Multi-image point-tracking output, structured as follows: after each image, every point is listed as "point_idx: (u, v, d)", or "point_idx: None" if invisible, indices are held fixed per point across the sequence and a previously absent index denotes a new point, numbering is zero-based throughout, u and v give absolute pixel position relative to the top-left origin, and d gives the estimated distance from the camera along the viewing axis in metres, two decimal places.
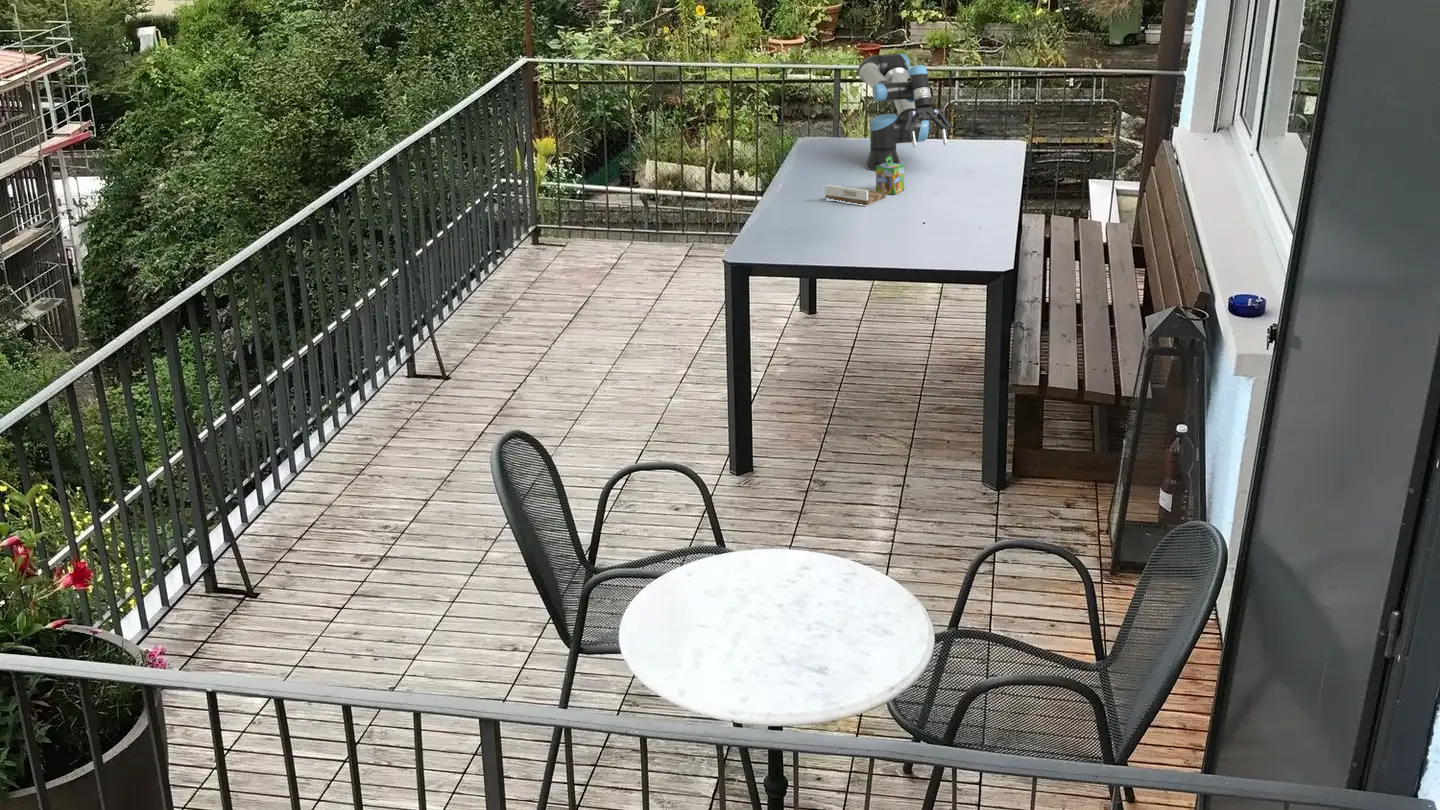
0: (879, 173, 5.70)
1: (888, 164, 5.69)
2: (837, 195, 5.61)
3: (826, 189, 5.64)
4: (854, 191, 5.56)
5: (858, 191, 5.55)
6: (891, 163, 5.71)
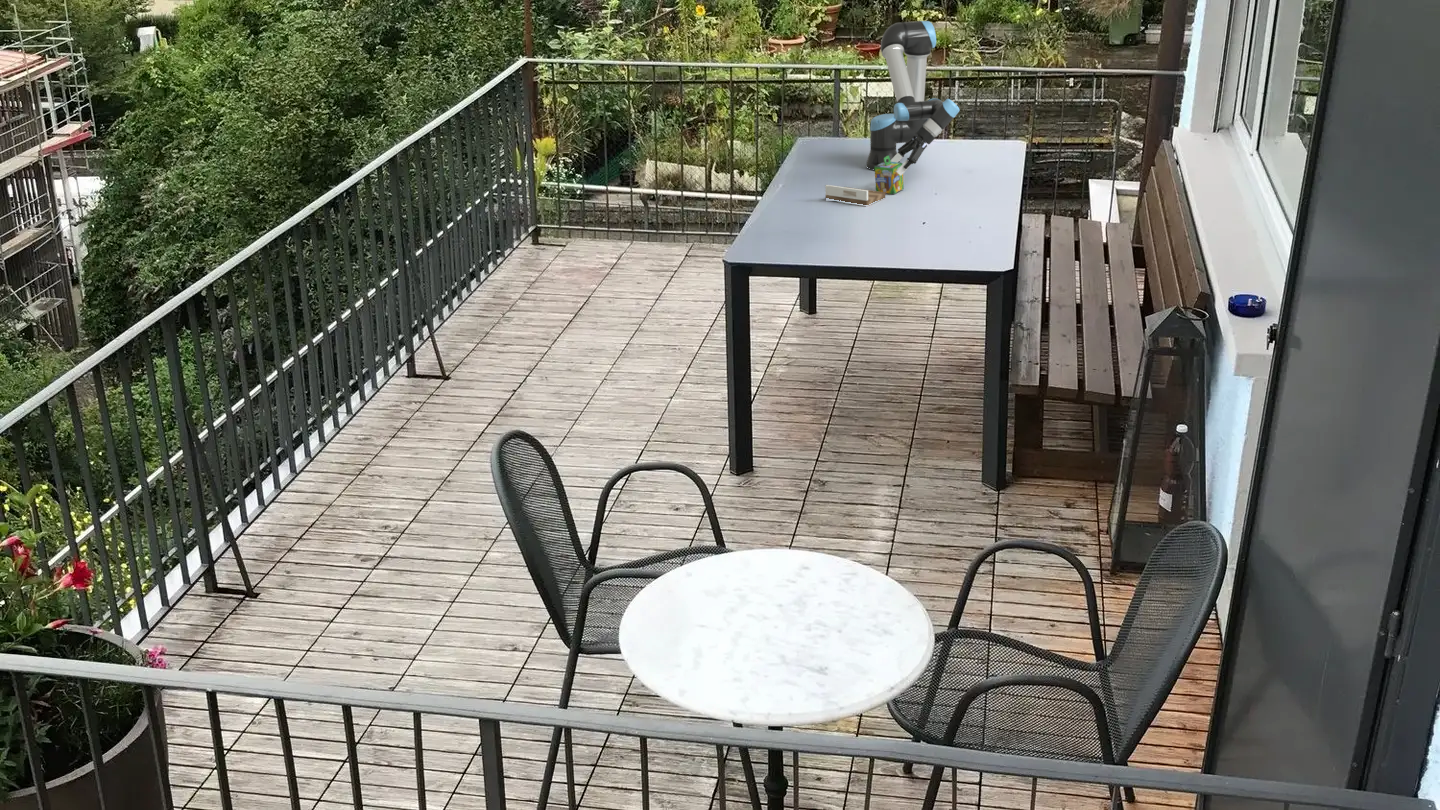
0: (878, 173, 5.70)
1: (886, 164, 5.69)
2: (837, 195, 5.61)
3: (826, 189, 5.64)
4: (854, 191, 5.56)
5: (858, 191, 5.55)
6: (889, 162, 5.71)
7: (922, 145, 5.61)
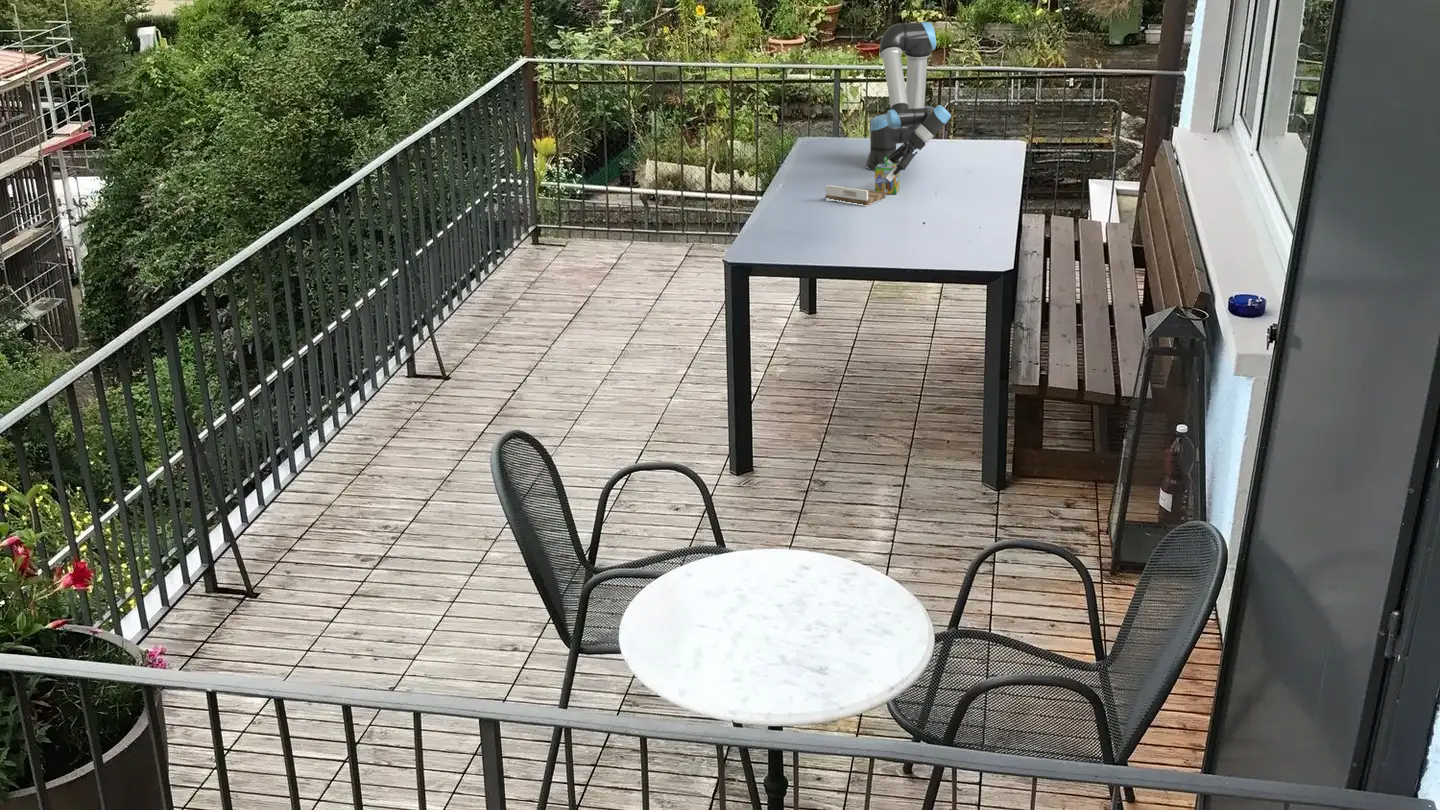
0: (879, 173, 5.68)
1: (886, 164, 5.69)
2: (837, 195, 5.61)
3: (826, 189, 5.64)
4: (854, 191, 5.56)
5: (858, 191, 5.55)
6: (887, 163, 5.71)
7: (912, 151, 5.62)
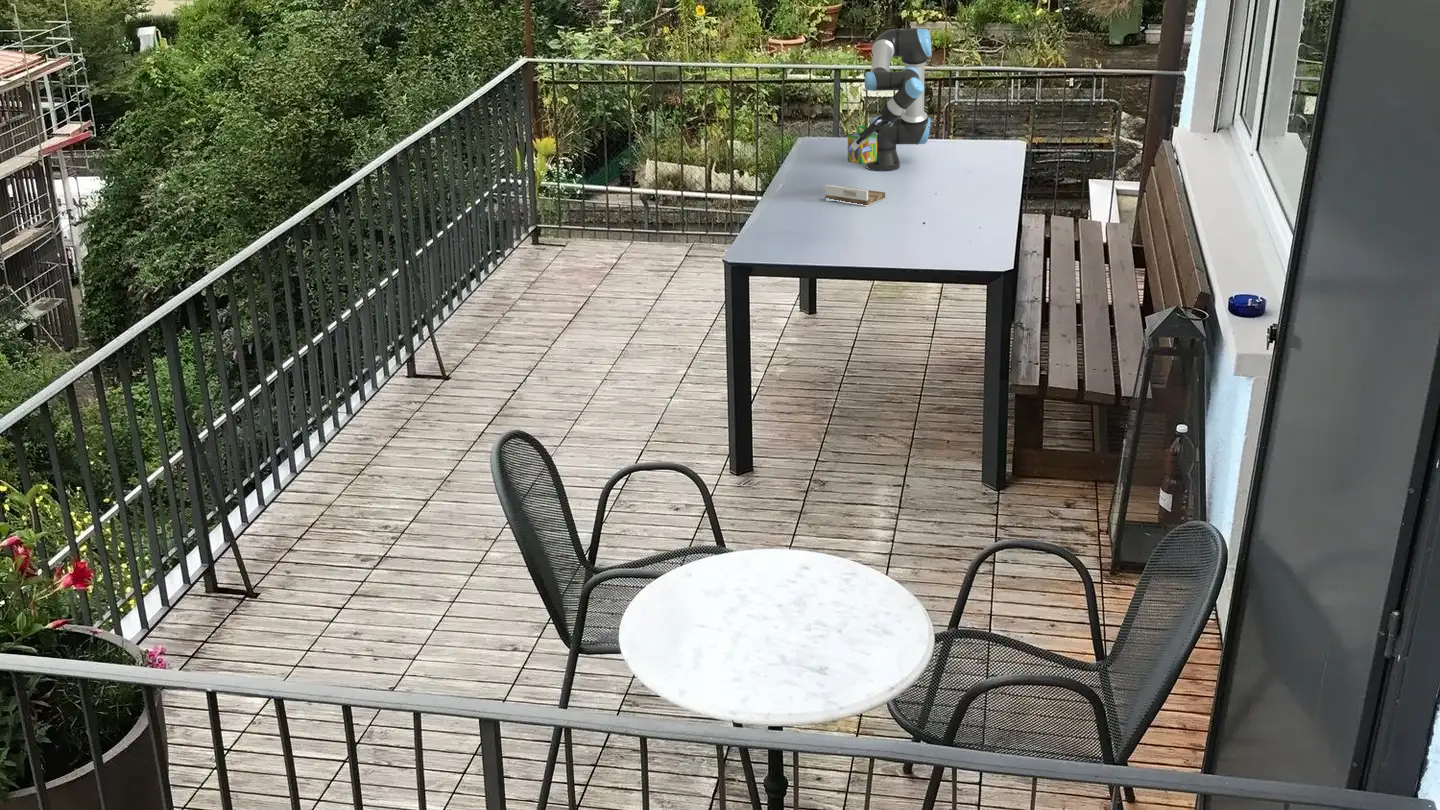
0: (850, 141, 5.59)
1: (859, 133, 5.57)
2: (837, 195, 5.61)
3: (826, 189, 5.64)
4: (854, 191, 5.56)
5: (858, 191, 5.55)
6: None
7: (875, 122, 5.46)
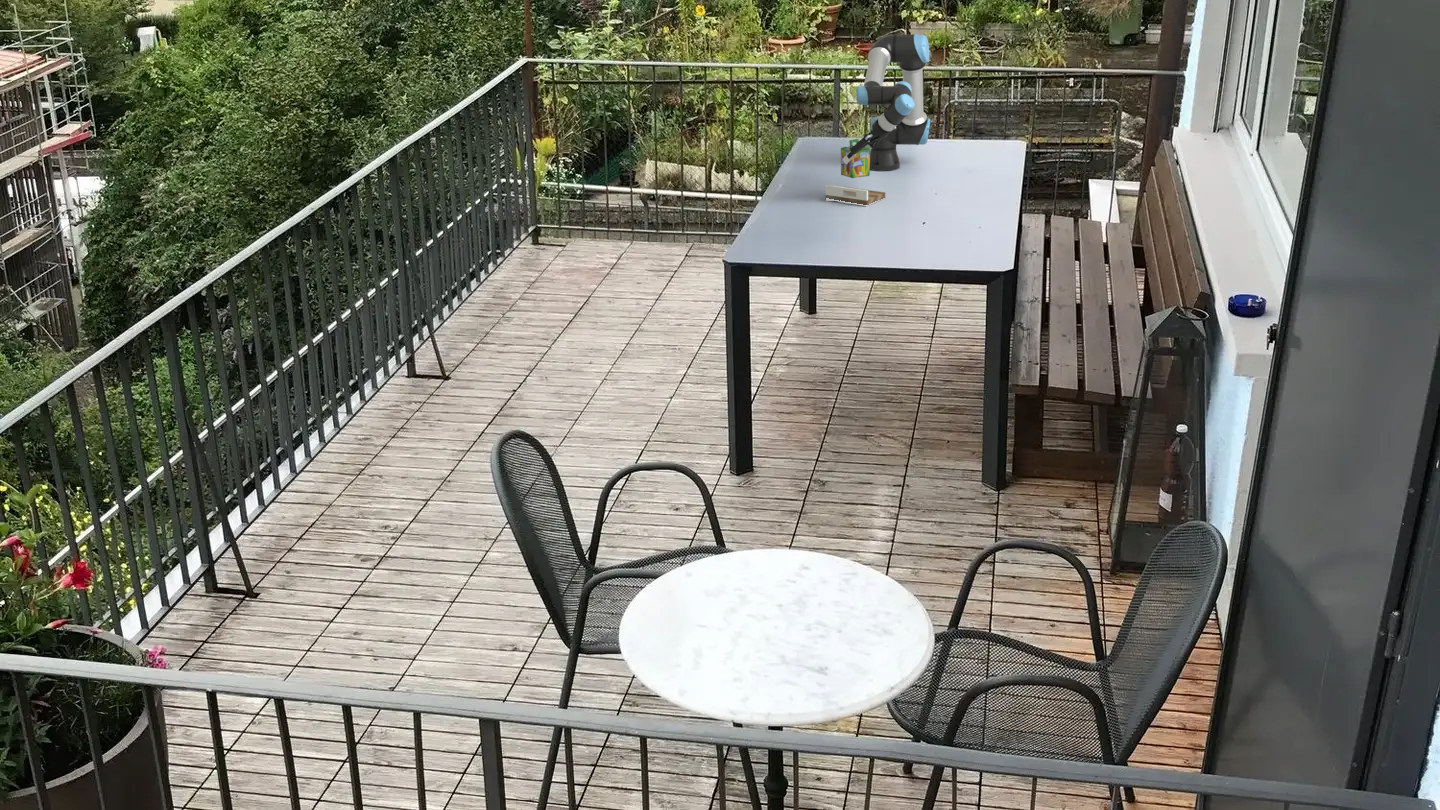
0: (843, 154, 5.60)
1: None
2: (837, 195, 5.61)
3: (826, 189, 5.64)
4: (854, 191, 5.56)
5: (858, 191, 5.55)
6: None
7: (865, 137, 5.47)
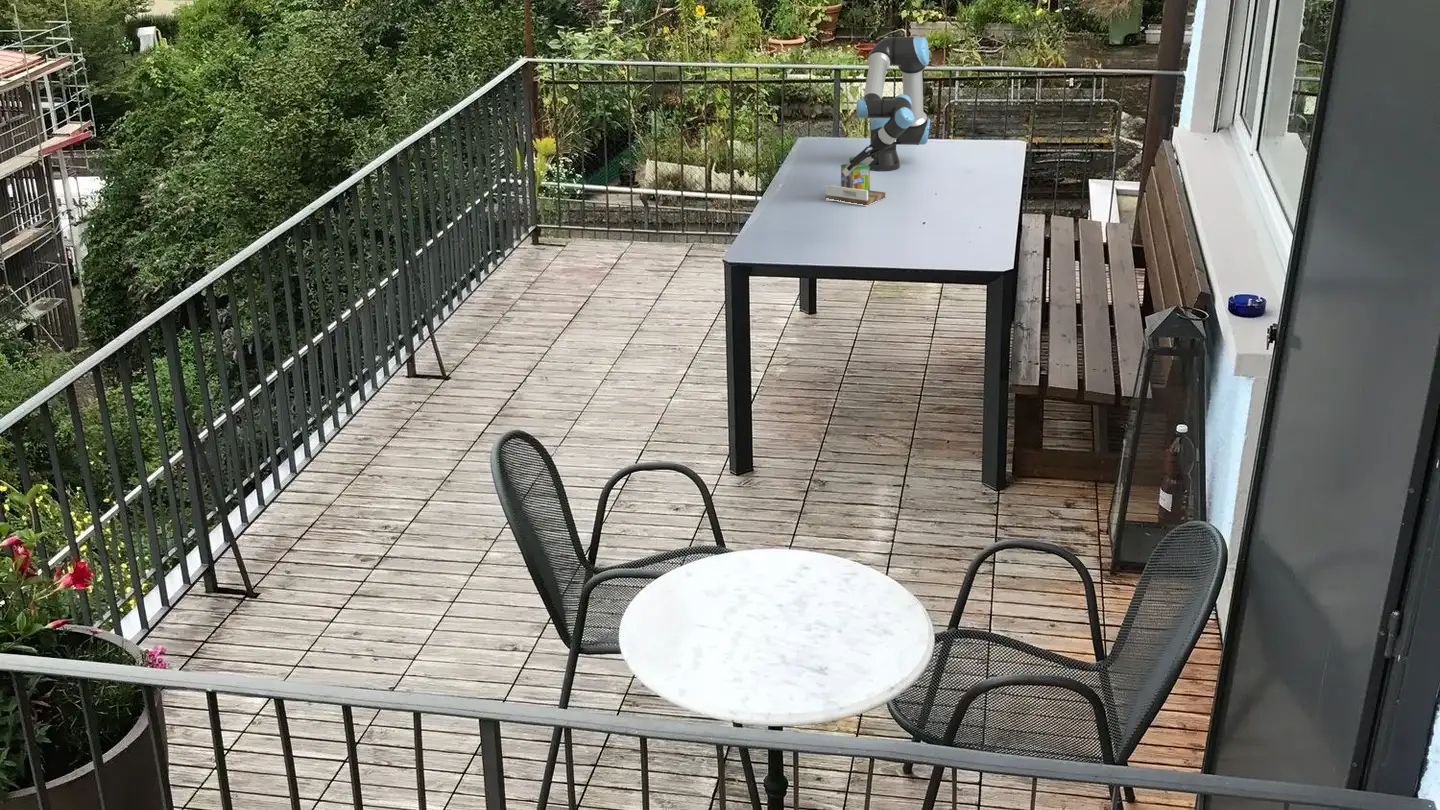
0: None
1: None
2: (837, 195, 5.61)
3: (826, 189, 5.64)
4: (854, 191, 5.56)
5: (858, 191, 5.55)
6: None
7: (865, 149, 5.49)
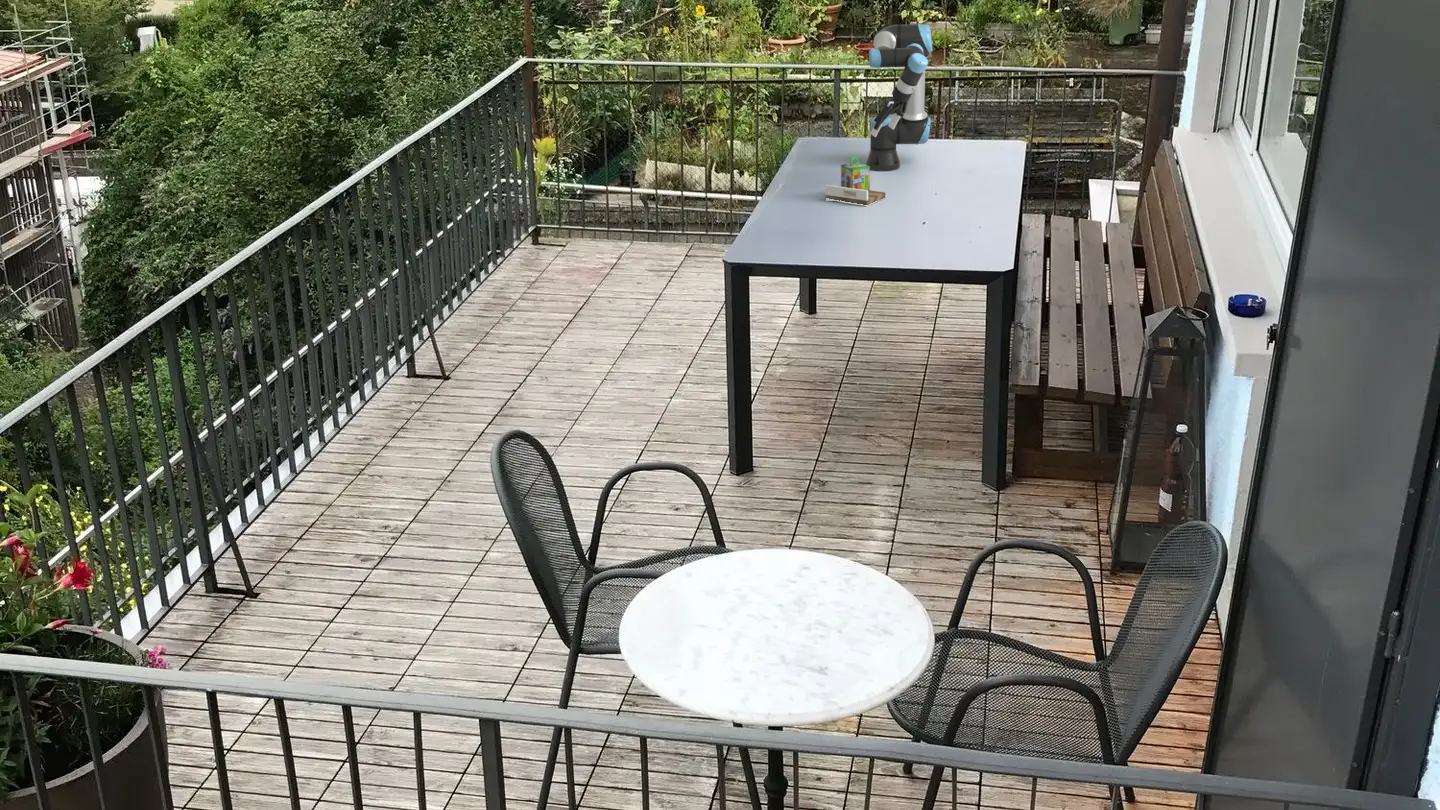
0: (843, 172, 5.63)
1: (852, 164, 5.61)
2: (837, 195, 5.61)
3: (826, 189, 5.64)
4: (854, 191, 5.56)
5: (858, 191, 5.55)
6: (857, 163, 5.63)
7: (887, 104, 5.47)
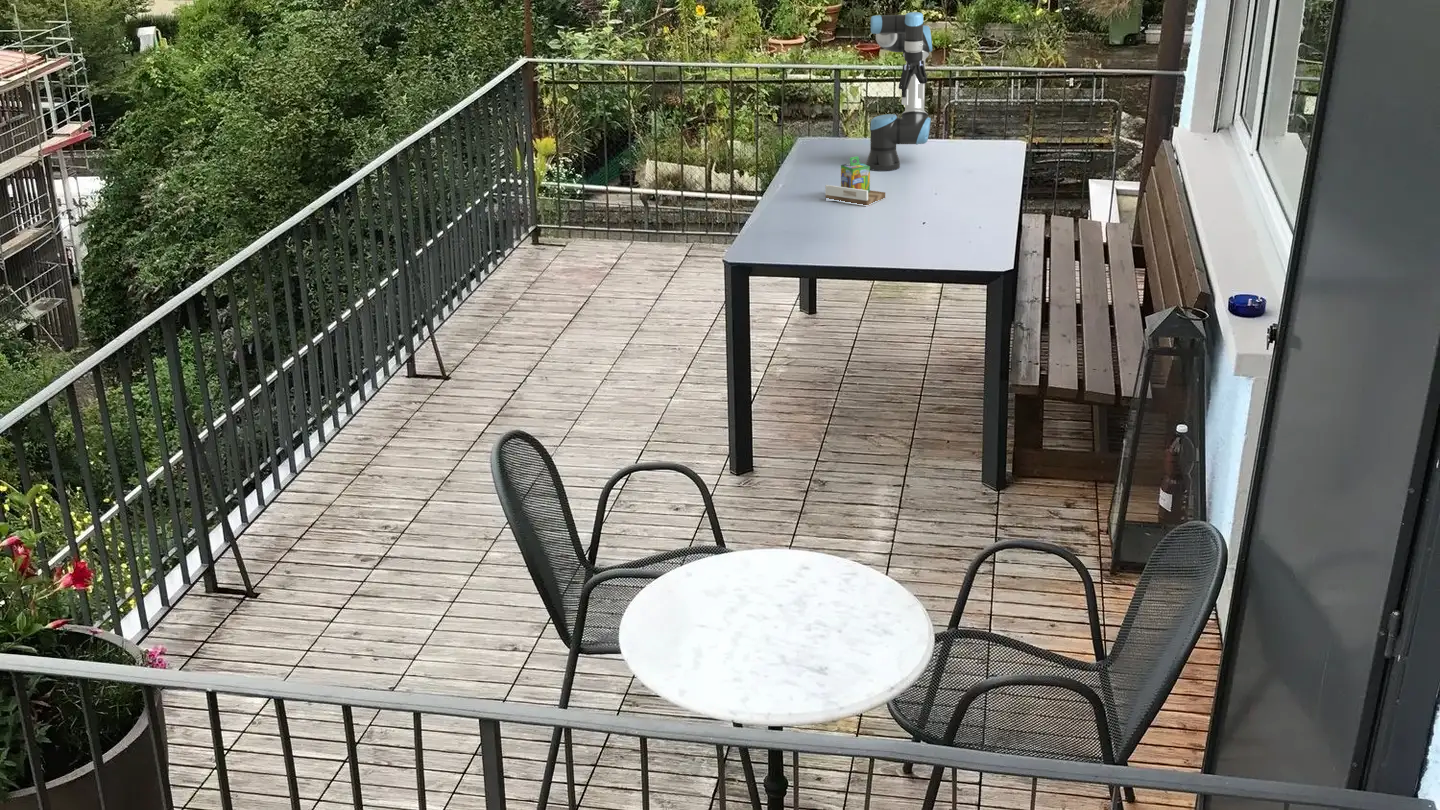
0: (843, 172, 5.63)
1: (852, 164, 5.61)
2: (837, 195, 5.61)
3: (826, 189, 5.64)
4: (854, 191, 5.56)
5: (858, 191, 5.55)
6: (857, 163, 5.63)
7: (903, 68, 5.64)
